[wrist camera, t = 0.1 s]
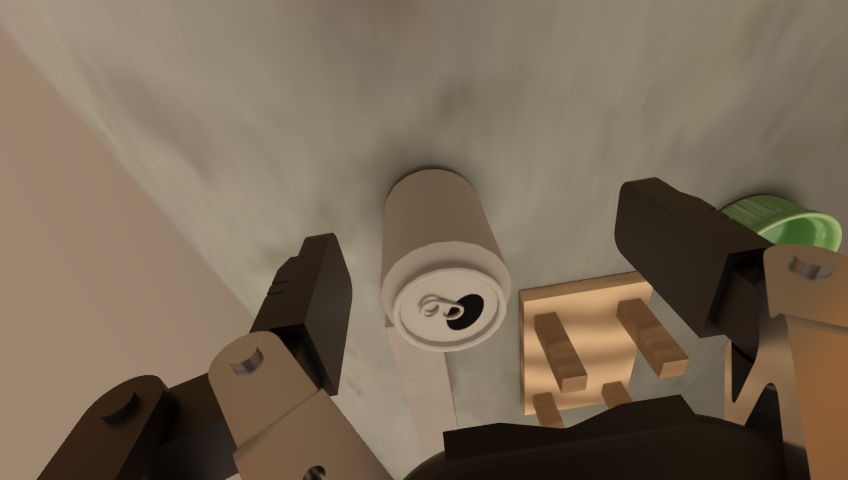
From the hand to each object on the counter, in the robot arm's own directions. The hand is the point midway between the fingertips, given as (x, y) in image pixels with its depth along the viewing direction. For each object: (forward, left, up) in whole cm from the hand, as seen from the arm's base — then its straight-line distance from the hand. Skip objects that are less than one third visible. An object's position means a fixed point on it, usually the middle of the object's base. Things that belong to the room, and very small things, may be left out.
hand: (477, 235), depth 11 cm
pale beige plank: (+24, -4, -18) cm, 30 cm away
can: (+9, -1, -18) cm, 20 cm away
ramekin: (+17, +26, -18) cm, 35 cm away
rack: (+29, +12, -17) cm, 35 cm away
